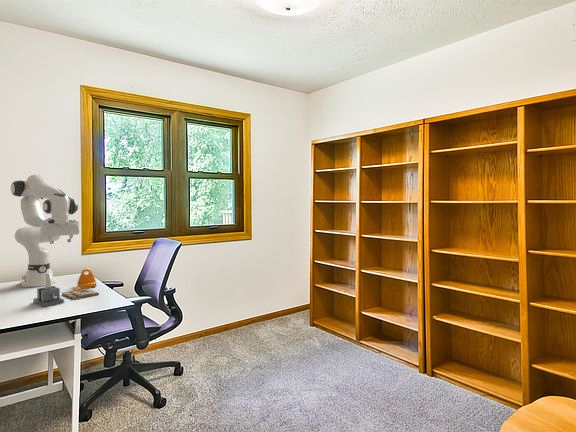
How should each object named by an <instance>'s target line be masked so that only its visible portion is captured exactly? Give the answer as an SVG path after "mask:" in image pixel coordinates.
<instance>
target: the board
mask: <svg viewBox="0 0 576 432" xmlns="http://www.w3.org/2000/svg"><path fill="white" fill-rule="evenodd" d="M87 289H88V290H91V289H90V288H87ZM82 290H84V289H82ZM91 291H93V294H88V295H83V296H76V295H74V294H73V290H72V291H67V292H62V294H61V295H62V296H63V295H64V296H63V297H66V298H68V297H69V299H71V300H73V299H74V301H75V299H76V300H81V299H85V297H86V298H91V297H95V296H99V294H100V293H99V292H98V291H95V290H91ZM80 298H81V299H80Z"/></svg>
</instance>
